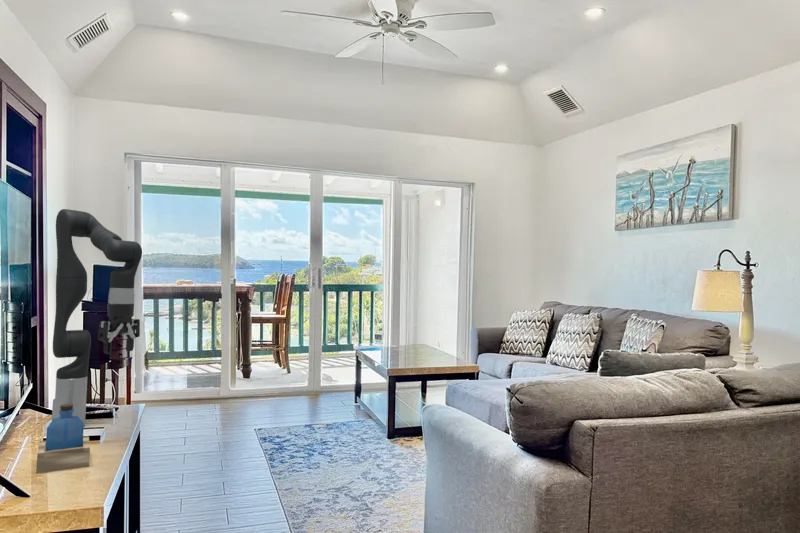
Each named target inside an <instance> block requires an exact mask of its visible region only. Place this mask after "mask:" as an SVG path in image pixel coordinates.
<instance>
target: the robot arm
mask: <svg viewBox="0 0 800 533" xmlns="http://www.w3.org/2000/svg"><path fill="white" fill-rule="evenodd" d="M73 237H76V238H88V239H90V242H91V245H93V246H94V247H95V248H96V249H98V250H99V251H101V252H102V254H104V257H106V259H107V260H109V261H111V262H115V263H124V265H123V267H121V268H118V269H113V270H112V271H111V272H110V277H109V278H110V280H109V291H108V297H107V298H108V299H107V317H108V321H105V320H100V321H99V324H98V334H97V340H98V341H101V342H102V343H103V354H105V355H111V354H112V350H113V349H112V348H113V342H112V341H113V340H114V338H115V337H116V336H117V335H121V334H122V335H124V336H125V338H126V342H125V351H126V352H132V351H134V348H135V339H136V338H140V335H141V332H140V331H141V327H140V326H141V320H140V319H138V318H132V317H134V315H135V279H136V274H137V271H138V268H139V265H140V262H141V261H142V260H141V259H142V257H143V248H142V247H141V244H139V242H137V241H131V240H123V239H122V238H121V237H120V236H119V235H118V234H116V233H115V232H113V231H111V230H109V229H107V227H105V226H104V225H103V224H102V223H101V222H99V221H98V219H97V218H96V217H95V216H94V215H92V214H91V213H89V212H87V211H81V210H75V209H67V208H63V209H60V210H59V211H58V213H57V215H56V218H55V238H56V239H55V240H56V250H57V251H56V253H57V254H56V255H57V256H56V257H57V258H56V275H55V317H54V326H53V335H52V336H53V337H52V353H53V356H54V357H55V358H56V359H60V358H61V359H62V358H63V359H65V358H75V359H74V361H72V362H71V363H69V364H66V365H64V366H62V367H59V368H58V369H57V370H56V375H55V393H54V397H55V398H53V399H52V411H51V422H52V421H53V419H54V418H57V417H60V414H59V410H61V408H60V406H61V405H64V404H73V408H72V409H74V412H73V413H72V416H78V417H79V419H80V420H81V421H82V423H83V424H84V427H85V426H86V414H87V412H86V411H87V396H88V395H87V393H88V392H87V391H88V374H89V372H88V371H89V365H90V364H89V362H90V352H91V346H92V345H91V344H92V337H91V333H90V331H88V330H87V329H76V330H75V329H71V330H67V327H68V322H69V320H70V318H71V316H72V314H73V312H74V311H75V310H76V309H77V307H78V306H79V305H80V303H81V302H82V301H83V299H84V298H85V296H86V295H87V291H88V272H87V270H86V268H85V266H84V265H83V263H82V261H81V260H80V259H79V257H78V254H77V253H76V251H75V248H74V246H73V245H74V244H73Z"/></svg>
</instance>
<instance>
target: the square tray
mask: <svg viewBox="0 0 800 533" xmlns="http://www.w3.org/2000/svg"><path fill="white" fill-rule="evenodd" d="M90 443H91V442H90V436H89V435H86V436H85V435H83V446H82V447H76V448H68V449H59V450H50V451H46V439H45V440H39V444H38V449H37V454H36V471H35V473H36V474H42V473H50V472H56V471H66V470H72V469H78V468H79V469H80V468H88V467H90V455H91V454H90V452H91V444H90Z"/></svg>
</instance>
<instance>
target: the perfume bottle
mask: <svg viewBox="0 0 800 533" xmlns="http://www.w3.org/2000/svg"><path fill="white" fill-rule="evenodd" d="M60 408H61V410H59V414H60V417H57V418H54V419H53V421H52V420H51V422H50V423H49V425H48V426H47V427H46V436H45V437H46V438H45V440H46V451H50V450H59V449H68V448H76V447H82V446H83V436H84V430H85V429H84V428H85V426H84V424H83V423H82V421H81V420H80V419H79V417H78V416H72V413H73V412H74V409H72V408H73V404H64V405H61V406H60Z"/></svg>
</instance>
